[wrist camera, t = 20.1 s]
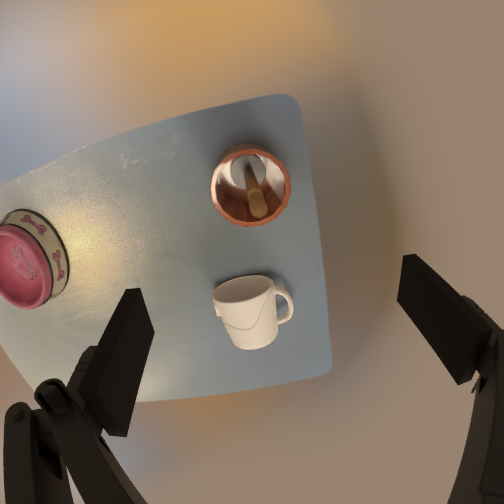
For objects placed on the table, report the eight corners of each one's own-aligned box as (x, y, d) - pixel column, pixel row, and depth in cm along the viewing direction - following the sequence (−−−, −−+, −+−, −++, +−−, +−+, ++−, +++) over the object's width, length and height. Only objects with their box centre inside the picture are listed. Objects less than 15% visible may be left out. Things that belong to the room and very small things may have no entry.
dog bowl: (33, 310, 52) (18, 329, 46) (-15, 238, 45) (-34, 251, 38) (87, 276, 50) (72, 296, 43) (33, 189, 42) (10, 201, 36)
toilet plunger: (223, 165, 43) (216, 205, 24) (251, 146, 42) (267, 169, 23) (243, 191, 45) (252, 250, 26) (270, 172, 44) (301, 218, 25)
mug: (227, 325, 55) (227, 355, 48) (213, 282, 51) (210, 309, 44) (292, 311, 55) (301, 339, 48) (284, 266, 51) (292, 291, 44)
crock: (211, 147, 42) (205, 154, 33) (275, 140, 43) (287, 145, 33) (219, 207, 46) (216, 231, 37) (280, 200, 46) (292, 222, 37)
